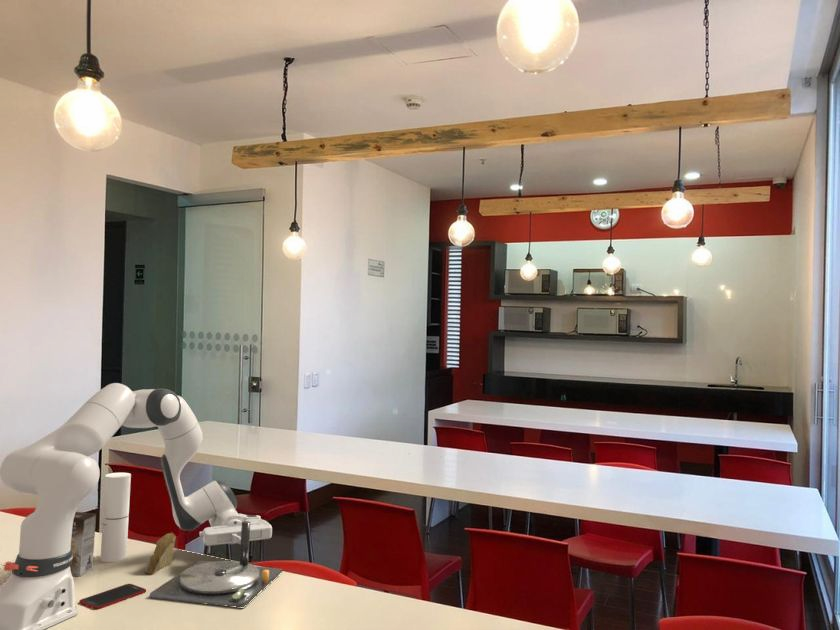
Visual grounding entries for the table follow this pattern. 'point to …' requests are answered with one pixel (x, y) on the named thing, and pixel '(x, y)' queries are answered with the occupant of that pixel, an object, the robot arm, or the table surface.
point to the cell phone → (112, 596)
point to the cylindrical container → (115, 517)
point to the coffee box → (82, 543)
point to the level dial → (223, 572)
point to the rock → (162, 553)
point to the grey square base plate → (238, 598)
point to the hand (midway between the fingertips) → (244, 540)
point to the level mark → (265, 576)
